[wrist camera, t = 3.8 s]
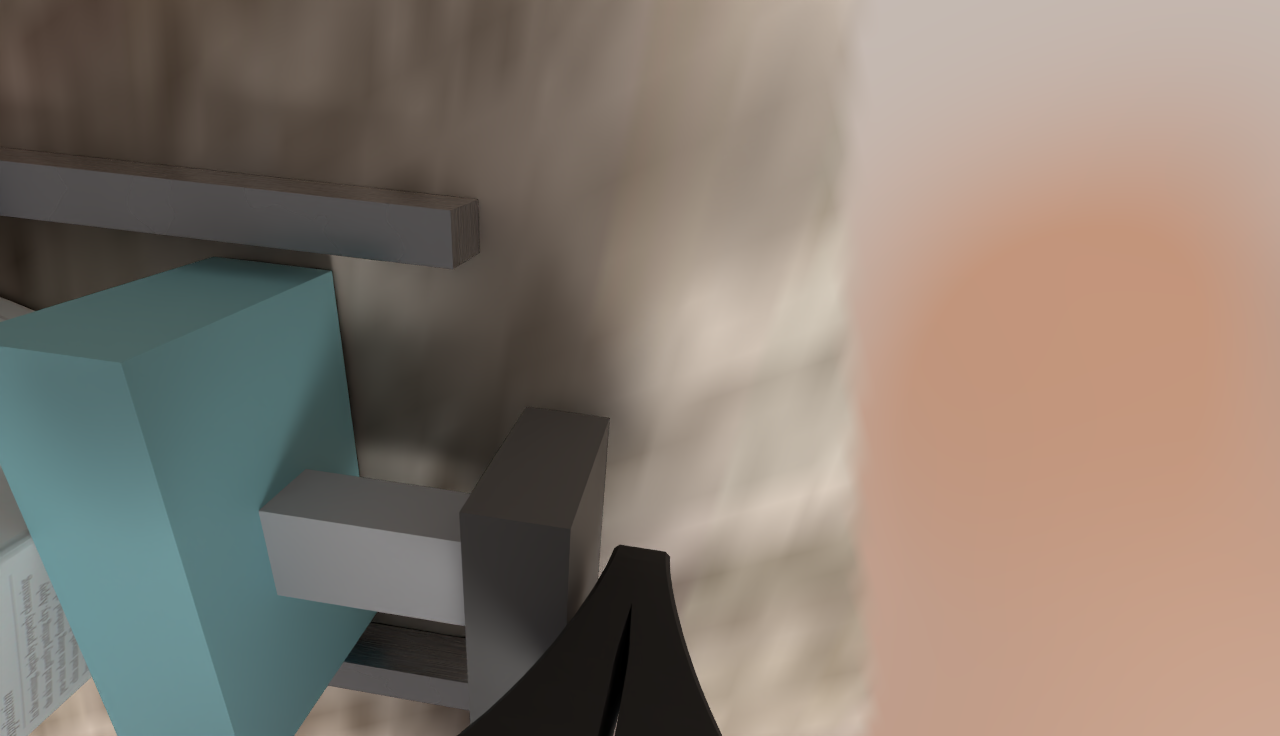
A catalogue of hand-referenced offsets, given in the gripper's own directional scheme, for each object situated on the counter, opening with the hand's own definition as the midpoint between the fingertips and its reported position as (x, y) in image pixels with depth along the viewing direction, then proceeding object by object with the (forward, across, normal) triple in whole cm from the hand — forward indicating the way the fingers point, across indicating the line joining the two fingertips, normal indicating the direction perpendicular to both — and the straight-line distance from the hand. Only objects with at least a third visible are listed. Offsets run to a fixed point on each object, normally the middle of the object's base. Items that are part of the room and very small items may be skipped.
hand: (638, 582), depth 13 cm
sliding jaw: (+3, +6, 0) cm, 7 cm away
